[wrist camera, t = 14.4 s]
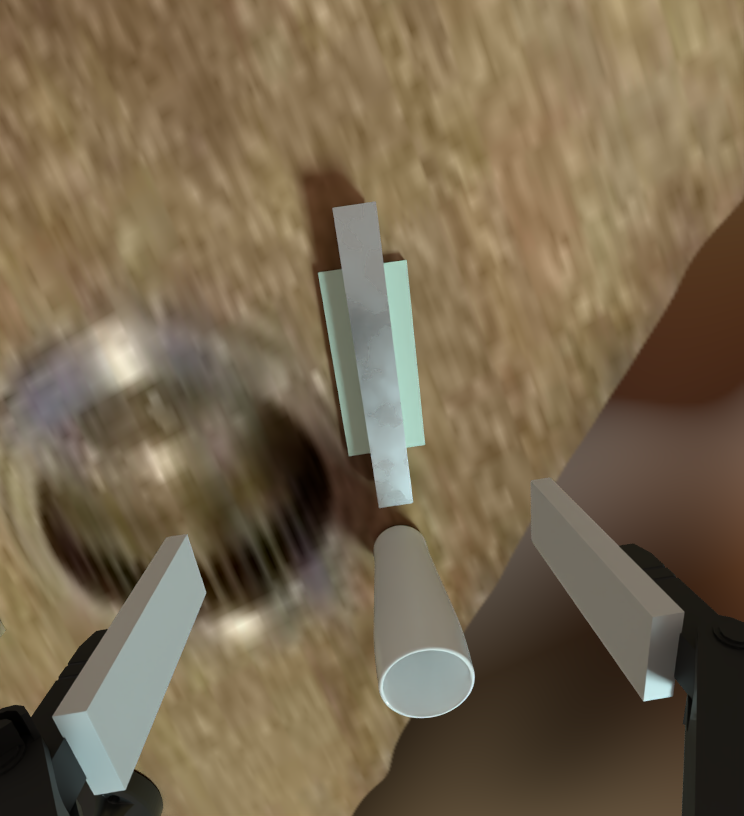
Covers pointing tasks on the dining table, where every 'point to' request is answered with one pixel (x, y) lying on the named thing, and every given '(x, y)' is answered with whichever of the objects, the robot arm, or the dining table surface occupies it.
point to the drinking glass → (416, 630)
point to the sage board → (346, 356)
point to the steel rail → (374, 349)
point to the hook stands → (1, 629)
